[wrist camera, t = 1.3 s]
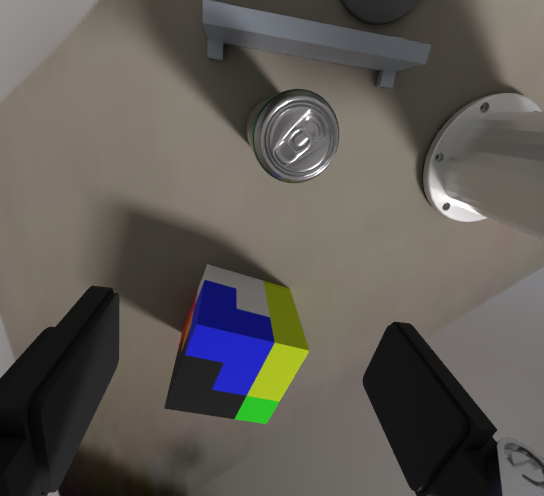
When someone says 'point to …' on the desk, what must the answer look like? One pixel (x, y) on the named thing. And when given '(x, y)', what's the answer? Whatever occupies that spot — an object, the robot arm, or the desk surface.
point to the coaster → (378, 9)
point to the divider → (309, 40)
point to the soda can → (293, 135)
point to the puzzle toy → (237, 348)
